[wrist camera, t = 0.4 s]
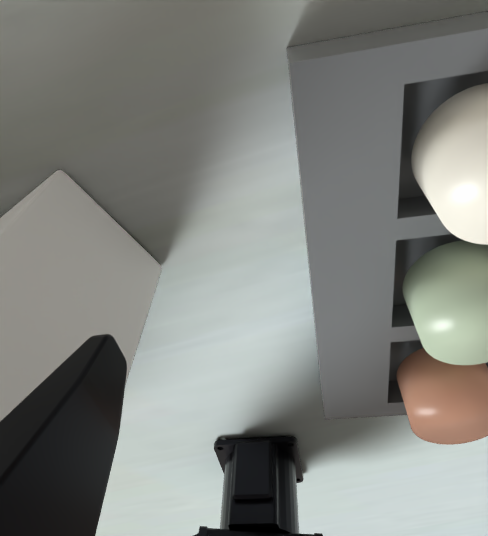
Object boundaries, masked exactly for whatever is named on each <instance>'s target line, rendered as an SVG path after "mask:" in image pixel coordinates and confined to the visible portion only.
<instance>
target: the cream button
mask: <svg viewBox="0 0 488 536" xmlns="http://www.w3.org/2000/svg"><path fill="white" fill-rule="evenodd" d="M411 165H412V171H413V174H414V177H415V179H416V181H417V183H418V184H419V186H420V188H421V189H422V191H423V193H424V194H425V196H426V197H427V199H428V201H429V202H430V204H431V206H432V207H433V209H434V210H435V212H436V214H437V215H438V217H439V219H440V220H441V222H442V223H443V225H444V226H445V227H446V229H447V230H449V231H450V232H451V233H452V234H453V235H455V236H456V237H458V238H460V239H462V240H465V241H468V242H471V243H476V244H486V245H488V83H485V84H480V85H476V86H473V87H470V88H467V89H465V90H463V91H461V92H459V93H457V94H455V95H454V96H452V97H450V98H449V99H448V100H446V101H445V102H444V103H442V104H441V105H440V106H439V107H438V108H437V109H436V110H434V112H433V113H432V114H431V115H430V116H429V117H428V118H427V120H426V121H425V123H424V124H423V125H422V127H421V129H420V131H419V132H418V134H417V137H416V139H415V142H414V145H413V149H412V156H411Z"/></svg>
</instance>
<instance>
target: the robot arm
mask: <svg viewBox="0 0 488 536" xmlns="http://www.w3.org/2000/svg"><path fill="white" fill-rule="evenodd" d="M126 375H127V362H126V359H125V357H124V355H123V353H122V351H121V349H120V347H119V346H118V344H117V342H116V340H115V338H114V337H113V336H112V335H110V334H102V335H94V336H91V337H90V338H89V339H87V340H86V341H85V342H84V343H83V344H82V345H81V346H80V347H79V348H78V349H77V350H76V351H75V352H74V353H72V354H71V355H70V356H69V357H68V358H67V359H66V360H65V361H64V362H63V363H62V364H61V365H60V366H59V367H58V368H57V369H55V370H54V371H53V372H52V373H51V374H50V375H49V376H48V377H47V378H46V379H45V380H44V381H43V382H42V383H41V384H40V385H38V386H37V387H36V388H35V389H34V390H33V391H32V392H31V393H30V394H29V395H28V396H27V397H26V398H25V399H24V400H23V401H21V402H20V403H19V404H18V405H17V406H16V407H15V408H14V409H13V410H12V411H11V412H10V413H9V414H8V415H7V416H6V417H4V418H3V419H2V420H1V421H0V536H95V534H96V529H97V525H98V521H99V517H100V513H101V508H102V504H103V500H104V496H105V492H106V487H107V483H108V479H109V475H110V471H111V466H112V462H113V458H114V454H115V450H116V445H117V440H118V435H119V429H120V422H121V414H122V406H123V398H124V390H125V383H126ZM214 450H215V452H216V455H217V457H218V460H219V462H220V465H221V467H222V470H223V472H224V485H223V498H222V510H221V522H220V529H213V528H207V527H205V526H200V529H199V533H198V534H196V535H194V536H323V535H322V534H320V533H314V535H312V534H299V523H298V504H297V485H296V483H299V482H302V481H303V472H302V467H301V461H300V455H299V450H298V444H297V439H296V438H295V437H290V436H289V437H271V438H252V439H234V440H218V441H215V443H214Z"/></svg>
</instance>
